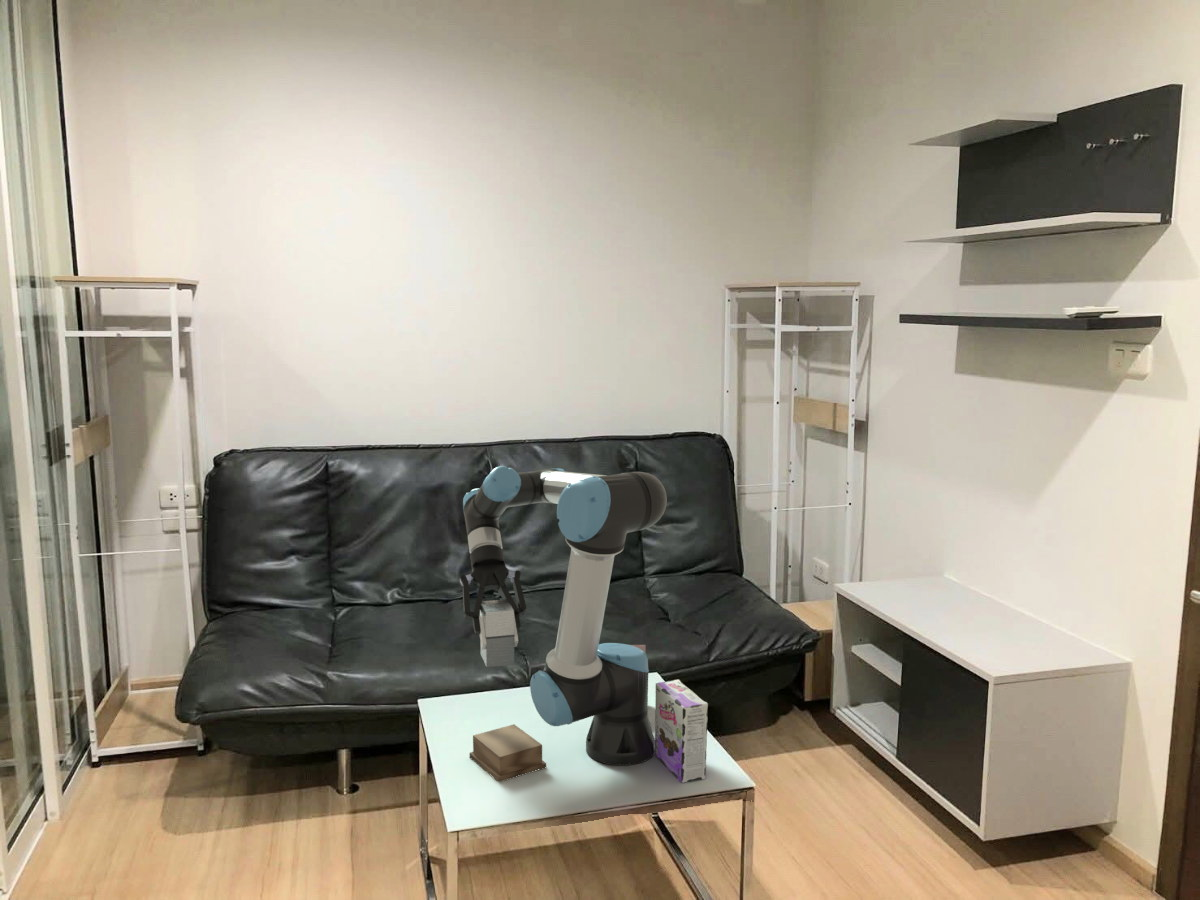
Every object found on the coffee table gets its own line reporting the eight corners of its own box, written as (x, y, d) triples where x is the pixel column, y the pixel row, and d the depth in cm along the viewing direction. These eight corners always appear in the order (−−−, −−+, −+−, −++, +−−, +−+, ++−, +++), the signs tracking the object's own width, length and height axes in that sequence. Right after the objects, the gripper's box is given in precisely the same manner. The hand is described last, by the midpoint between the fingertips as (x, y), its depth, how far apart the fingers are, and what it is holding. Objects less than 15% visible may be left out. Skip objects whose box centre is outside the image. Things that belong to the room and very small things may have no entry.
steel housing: (507, 651, 212) (507, 599, 210) (514, 664, 204) (514, 610, 202) (480, 654, 210) (479, 601, 208) (486, 667, 202) (485, 612, 201)
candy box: (653, 754, 206) (654, 681, 204) (678, 750, 208) (679, 678, 206) (681, 784, 194) (682, 706, 191) (707, 779, 196) (708, 702, 193)
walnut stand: (515, 744, 211) (515, 722, 210) (546, 767, 200) (546, 745, 199) (469, 757, 205) (469, 735, 204) (498, 782, 194) (498, 759, 193)
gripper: (525, 557, 222) (541, 648, 208) (442, 563, 216) (453, 657, 203) (530, 540, 216) (546, 633, 203) (445, 545, 211) (456, 641, 197)
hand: (500, 645), depth 203 cm, fingers closed on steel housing, 6 cm apart
